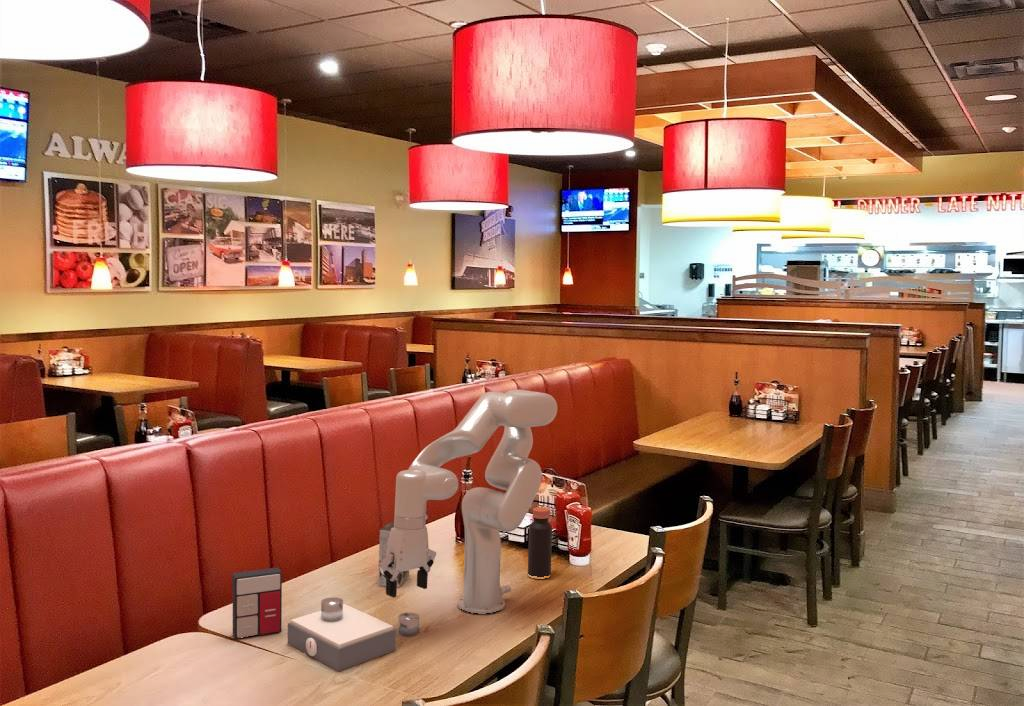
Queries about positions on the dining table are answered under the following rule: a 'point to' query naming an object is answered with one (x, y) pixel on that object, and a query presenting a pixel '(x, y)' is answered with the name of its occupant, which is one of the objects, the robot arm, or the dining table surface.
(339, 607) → the cylinder
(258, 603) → the grey red panel
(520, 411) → the robot arm
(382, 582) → the coffee box
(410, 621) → the cylinder
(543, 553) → the bottle
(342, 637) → the scale
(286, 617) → the dining table surface
